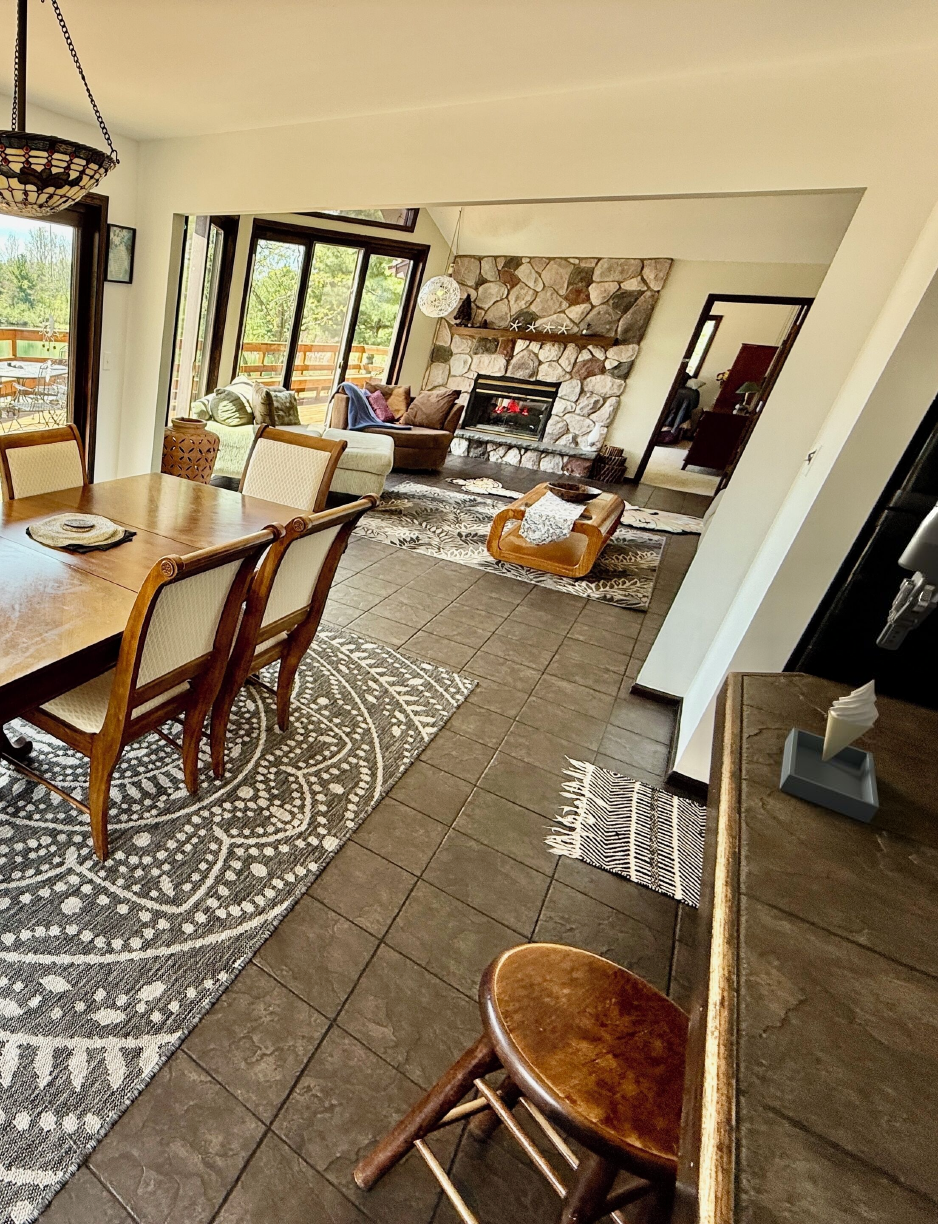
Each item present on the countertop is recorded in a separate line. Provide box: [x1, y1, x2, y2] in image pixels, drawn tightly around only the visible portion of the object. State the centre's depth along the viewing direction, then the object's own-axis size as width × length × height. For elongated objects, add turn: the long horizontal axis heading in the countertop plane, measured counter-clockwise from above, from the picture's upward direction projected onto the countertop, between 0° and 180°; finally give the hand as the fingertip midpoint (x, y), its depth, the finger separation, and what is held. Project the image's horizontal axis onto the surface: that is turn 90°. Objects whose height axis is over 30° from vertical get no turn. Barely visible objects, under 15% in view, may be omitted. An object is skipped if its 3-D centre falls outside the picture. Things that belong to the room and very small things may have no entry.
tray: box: [779, 727, 880, 824], centre depth 98 cm, size 20×9×3 cm, turn 133°
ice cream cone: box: [822, 679, 879, 762], centre depth 99 cm, size 5×5×15 cm
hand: (885, 647), depth 99 cm, fingers closed
